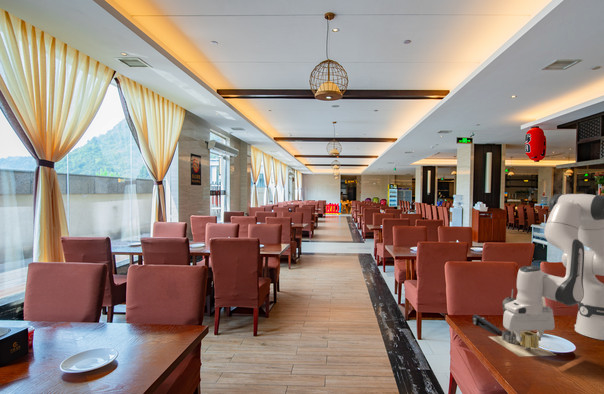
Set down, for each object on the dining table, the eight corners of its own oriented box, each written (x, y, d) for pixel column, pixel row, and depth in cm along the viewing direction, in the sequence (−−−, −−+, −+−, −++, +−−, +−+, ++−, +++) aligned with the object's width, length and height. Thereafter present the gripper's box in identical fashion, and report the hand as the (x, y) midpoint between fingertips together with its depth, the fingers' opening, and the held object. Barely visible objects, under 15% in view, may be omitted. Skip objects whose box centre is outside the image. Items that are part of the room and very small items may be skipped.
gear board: (521, 338, 146) (521, 325, 146) (556, 358, 128) (557, 343, 128) (488, 339, 144) (488, 325, 144) (519, 359, 127) (519, 344, 127)
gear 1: (508, 335, 146) (508, 328, 146) (528, 342, 139) (528, 335, 139) (497, 338, 142) (498, 332, 142) (517, 346, 135) (517, 339, 135)
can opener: (468, 324, 162) (468, 313, 162) (481, 323, 163) (481, 312, 163) (493, 339, 145) (493, 327, 145) (507, 339, 145) (507, 326, 145)
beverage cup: (514, 327, 159) (515, 286, 159) (522, 333, 151) (523, 290, 151) (498, 326, 159) (499, 285, 159) (506, 332, 152) (507, 290, 152)
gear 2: (529, 340, 136) (529, 330, 136) (542, 348, 130) (542, 336, 129) (514, 341, 135) (515, 330, 135) (527, 348, 129) (527, 337, 129)
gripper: (545, 303, 137) (545, 336, 137) (500, 304, 134) (500, 337, 134) (559, 308, 130) (558, 343, 130) (512, 309, 128) (511, 344, 128)
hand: (528, 340), depth 132 cm, fingers closed on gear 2, 7 cm apart
